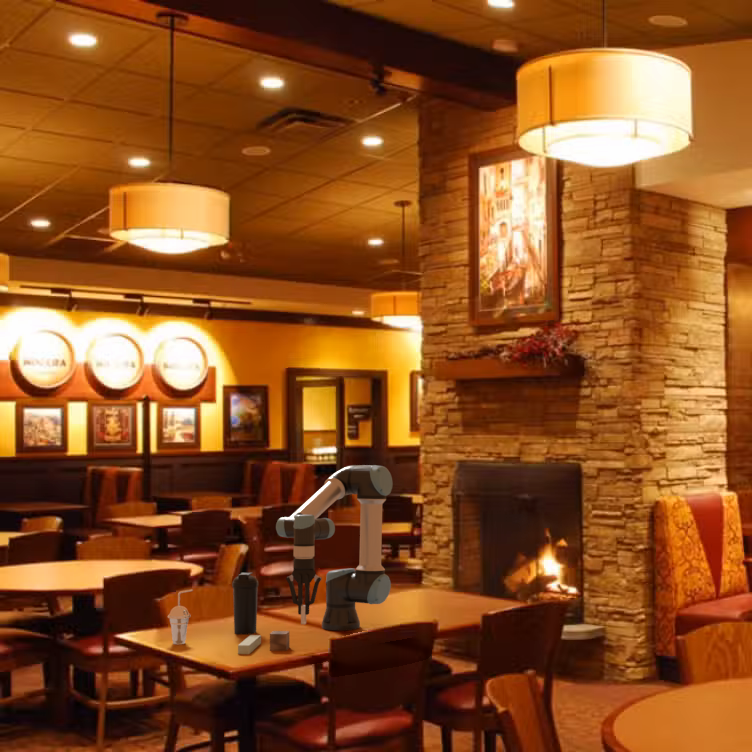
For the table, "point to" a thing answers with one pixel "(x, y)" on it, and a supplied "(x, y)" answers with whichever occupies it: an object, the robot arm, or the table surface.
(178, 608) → the cup with straw
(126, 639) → the table surface
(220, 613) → the table surface
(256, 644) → the cream rectangular bar
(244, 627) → the water bottle
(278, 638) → the block
